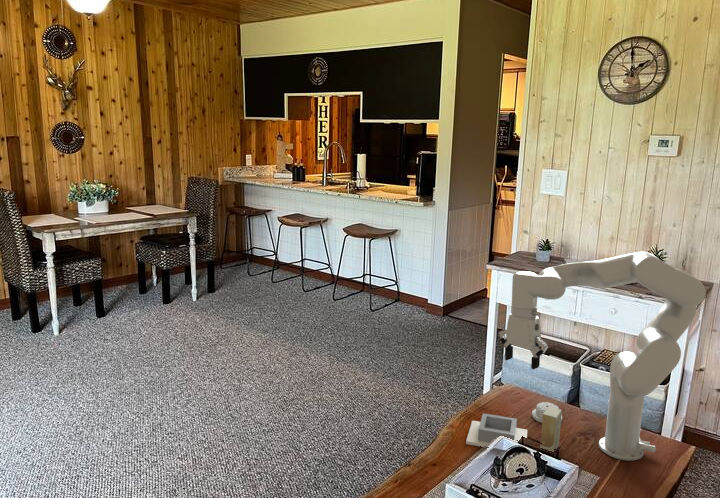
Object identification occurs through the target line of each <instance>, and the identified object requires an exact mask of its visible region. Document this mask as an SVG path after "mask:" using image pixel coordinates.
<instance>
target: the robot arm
mask: <svg viewBox="0 0 720 498" xmlns="http://www.w3.org/2000/svg"><path fill="white" fill-rule="evenodd" d="M634 283H639V284H640V285H641V286H642V287H644V288H646V289H648V290H649V291H652V292H653V293H655V294H657V295H658V296H660V297H663V298H664V302H663V305H662V307H661V308H660V309H659V311H658V312H657V314H655V316H654V317H653V318H652V319H650V321H649V322H648V323H647V325H646V326H645V327H644V328H643V329H642V330H641V331H640V333H639V334H638V335H637V337H636V341H635V342H636V347H637V349H638V350H639V354H638V353H636V352H633V351H620V352H619V353H617V354H615V356H614V357H613V358H612V359H611V362H610V369H609V397H608V403H607V404H608V406H607V416H606V422H605V423H606V425H605V434H604V437H602V438H600V439H599V440H598V447H599V449H600V450H601V451H602V452H603V453H604V454H606V455H608V456H609V457H611V458H614V459H617V460H622V461H637V460H640V459H642V458H643V456H644V451H647V452H651V453H656V452H657V451H656V450H657V448H656V447H657V446H656V445H653V444H651V441H647V440H642V439H641V438H640V436H641V427H642V417H643V411H644V410H643V408H644V401H645V397H646V396H649V395H650V394H651V393H653V392H654V391H655V390H656V389H657V388H658V386H660V384H662V383H663V382H664V380H665V379H666V378H667V377H668V376H669V375H670V374H671V373H672V372H673V371H674V370H675V369H676V367H677V366H678V364H679V363H680V360H681V357H682V350H681V347H680V344H679V343H678V340H679V339H680V338H681V337H682V336H683V334H684V333H685V332H686V330H687V329H689V327H690V325H691V324H692V322H693V321H694V319H695V315H696V313H697V307H698V306H699V305H700V304H701V303H702V302H703V301H704V299H705V296H706V294H707V292H706V288H705V286H704V284H703V282H702V281H700V280H699V279H698V278H696V277H695V276H694V275H692V274H691V273H689V272H688V271H687V270H684V269H679V268H675V267H674V266H671V265H670V264H668V263H666V262H664V261H663V260H662V259H659V257H657V256H655V255H654V254H652V253H650V252H648V251H637V252H633V253H626V254H623V255H617V256H613V257H608V258H603V259H598V260H588V261H581V262H580V261H579V262H570V263H562V264H559V265H554V266H551V267H547V268H544V269H542V270H541V271H540V272H539V273H538V274H537V273H535V272H532V271H525V270H520V271H516V272H515V273H513V275H512V284H511V285H512V286H511V310H510V311H511V312H510V313H509V316H508V319H507V324H506V329H505V330H501V331H498V335H499V338H500V342H501V343H502V344H503V348H504V360H505V361H509V360H511V359H514V358H513V356H514V346H515V347H518V348H521V349H524V350H528V351H530V352H531V355H532V357H531V365H530V369H531V370H537V369H538V368H539V367H540V361H541V356H542V355H544V354H546V351H547V350H548V348H549V344H547V343H546V342H545V341H544V340H543V339H542V331H541V328H542V327H541V322H540V317H539V316H540V314H541V312H540V311H538V298H539V299H541V298H542V299H545V300H551V301H552V300H558V299H560V298H561V297H563V296H564V295H565V293H566V288H571V287H578V286H580V287H581V286H584V287H590V288H591V287H592V288H595V289H609V288H614V287H619V286H624V285H628V284H630V285H631V284H634ZM540 347H541V348H540Z"/></svg>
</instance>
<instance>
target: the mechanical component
mask: <svg viewBox="0 0 720 498" xmlns="http://www.w3.org/2000/svg"><path fill="white" fill-rule="evenodd" d="M548 406H549V407H553V408H556V409H560V407H559V406H558V405H556V404H555V403H552V402H549V401H542V402H538V403H537V404H536V406H535V408H534V409H533V410H532V412H531V416H532V418H533V419H534V420H535V421H536V422H539V423H541V424H542V417H543V413H544V411H545V410H546V409H547V407H548ZM562 421H563V415H561V422H562Z"/></svg>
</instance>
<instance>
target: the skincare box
mask: <svg viewBox="0 0 720 498" xmlns="http://www.w3.org/2000/svg"><path fill="white" fill-rule="evenodd" d="M562 414H563V410H562V409H560V408H559V409H556V408H553V407H549V406H548V407H547V409H546V410H545V411H544V413H543V417H542V423H541V433H540V443H542V445H541V444H539V445H540V446H539V449H540V448H543V449H546V450H548V451H552V452H554V449H556V450H557V449H558V447H559V446H560V439H561V437H560V435H561V424H562V421H561V415H562ZM562 416H563V415H562ZM548 451H547V452H548ZM554 453H555V452H554Z"/></svg>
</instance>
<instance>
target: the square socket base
mask: <svg viewBox="0 0 720 498" xmlns="http://www.w3.org/2000/svg"><path fill="white" fill-rule="evenodd" d="M517 419H518V418H514V417H510V416H509V417H507V416H502V415H496V414H489V413H484V412H483V413H482V415H481V418H480V421H478V420H471V424H470V428H469V430H468V434H467V437H466V441H465V445H470V446H475V447H476V446H477V447H480V446H481V447H482V448H485V447H484V446H486V445H487V444H489V443H490V442H491V441H492V440H493V439H495V438H496V437H499V436H504V437H507V438H510V439H512V440H518V441H519V440H520V439H521V437H522V436H523V437H525V438H527V439H528V429H525V428H520V427H517V423H518V422H517V421H518V420H517Z"/></svg>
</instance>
